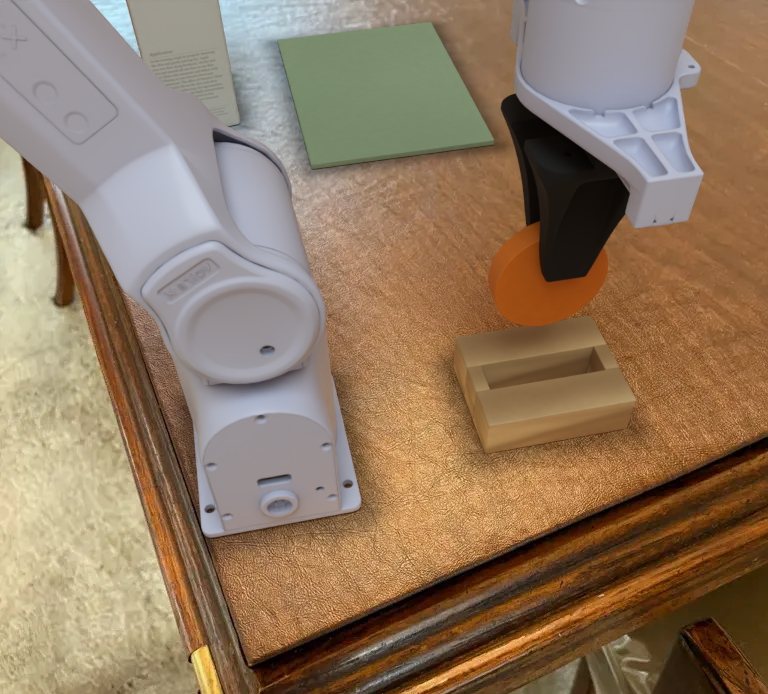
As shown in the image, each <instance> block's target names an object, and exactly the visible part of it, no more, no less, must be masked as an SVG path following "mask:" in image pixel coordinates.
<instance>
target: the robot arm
mask: <svg viewBox="0 0 768 694" xmlns="http://www.w3.org/2000/svg"><path fill="white" fill-rule="evenodd" d="M695 3H696V0H513V3H512V12H511V23H510V32H509V38H510V40H511V41H512V43H513V45H515V46H516V53H515V55H516V56H515V66H514V75H513V89H514V93H511V94H510V95H507V96H506V97H505V98H503V100H502V101H501V102H500V103H501V104H500V111H501V114H502V116H503V119H504V121H505V124H506V126H507V129H508V131H509V134H510V137H511V140H512V144H513V146H514V150H515V154H516V159H517V163H518V168H519V173H520V180H521V188H522V195H523V197H522V198H523V207H524V220H525V227H527V226H529V225H531V224H533V223H536V222H539V221H540V235H539V259H540V267H541V272H542V275H543V277H544V279H545V281H547V282H554V281H561V280H567V279H574V278H580V277H585V276H586V275H587V274H588V272H589V271H590V269H591V267H592V266H593V264H594V262H595V261H596V259H597V257H598V256H599V254H600V252H601V250H602V249H603V247H604V246H605V245H606V243H607V242H608V240H609V239H610V237H611V235H612V234H613V233H614V231H615V229H616V228H617V226H618V225H619V224H620V222H621V221H622V220H623V218H624V217H625V216H626V218H627V219H628V221H629V223H630V224H631V225H632V227H633V228H634V229H636V230H638V229H645V228H651V227H653V228H654V227H662V226H668V225H672V224H678V223H679V224H680V223H686V222H688V221H689V220H690V219H689V218H690V216H691V213H692V210H693V207H694V205H695V202H696V199H697V197H698V193H699V190H700V187H701V184H702V181H703V179H704V175H705V172H704V171H703V170H702V168H701V167H700V166H699V164H698V163H697V161H696V159H695V158H694V155H693V154H692V152H691V147H690V143H689V137H688V131H687V125H686V118H685V111H684V106H683V99H682V92H681V90H688V89H693V88H695V87H696V86H697V84H698V82H699V79H700V76H701V72H702V67H701V65H700V64H699V62H697V60H696V59H695V57H693V56H692V55H691V54H690V53H689V52H688V50H686V49H685V48H683V46H684V42H685V39H686V35H687V31H688V27H689V24H690V20H691V16H692V13H693V10H694V6H695ZM0 139H1V140H2V141H4V143H6V144H7V145H8V146H9V147H11V149H13V150H14V151H15V152H16V153H18V155H20V156H21V157H22V158H23V159H25V161H26V162H28V163H29V164H30V165H32V167H34V168H35V169H36V170H37V171H38V172H40V173H41V174H42V175H43V176H44V177H45V178H46V179H48V180H49V181H50V182H51V183H52V184H53V185H54V186H56V187H57V188H58V189H59V190H60V191H61V192H63V193H64V194H65V195H66V196H67V197H69V199H71V200H72V201H73V202H74V203H76V205H78V207H79V208H80V210H81V212H82V214H83V215H84V217H85V219H86V222H87V223H88V225H89V227H90V229H91V231H92V233H93V235H94V237H95V239H96V241H97V243H98V245H99V247H100V249H101V251H102V253H103V255H104V257H105V259H106V261H107V262H108V265H109V267H110V269H111V271H112V273H113V275H114V277H115V279H116V281H117V283H118V284H119V286H120V287H121V289H122V291H123V292H124V293H125V295H127V296H128V297H129V298H130V299H131V300H133V301H134V302H135V303H137V304H138V305H139V306H140V307H141V308H142V309H143V310H144V311H145V312H147V313H148V314H149V316H150V317H151V318H152V320H154V322H155V323H156V325H157V327H158V329H159V333H160V335H161V339H162V342H163V344H164V346H165V348H166V350H167V351H168V353H169V354H170V356H171V359H172V362H173V365H174V369H175V371H176V374H177V378H178V380H179V383H180V387H181V389H182V392H183V395H184V399H185V402H186V405H187V408H188V411H189V414H190V417H191V421H192V428H193V440H194V441H193V442H194V452H195V453H194V454H195V465H196V479H197V490H198V502H199V515H200V527H201V531H202V533H203V535H204V536H205V537H207V538H209V539H210V538H218V537H223V536H229V535H234V534H235V535H236V534H241V533H247V532H252V531H256V530H262V529H266V528H272V527H279V526H282V525H289V524H294V523H299V522H305V521H310V520H316V519H320V518H326V517H332V516H338V515H342V514H348V513H354V512H356V511H358V510H359V509H360V508H361V507H362V496H361V491H360V488H359V484H358V479H357V475H356V470H355V466H354V461H353V457H352V453H351V449H350V444H349V441H348V436H347V432H346V427H345V423H344V419H343V415H342V410H341V406H340V401H339V398H338V394H337V389H336V388H337V387H336V384H335V379H334V376H333V375H332V367H331V358H330V357H331V356H330V347H329V338H328V329H327V309H326V303H325V299H324V297H323V294H322V292H321V290H320V288H319V286H318V284H317V281H316V280H315V278H314V276H313V272H312V268H311V265H310V261H309V258H308V255H307V251H306V247H305V244H304V240H303V237H302V233H301V230H300V225H299V222H298V218H297V215H296V212H295V208H294V203H293V193H292V183H291V180H290V177H289V174H288V172H287V169H286V168H285V165H284V164H283V162H282V161H281V160H280V158H279V157H278V155H277V154H276V153H275V152H274V151H273V150H272V149H270V148H269V146H267V145H266V144H265V143H263V142H261V141H259V140H258V139H256V138H254V137H252V136H249V135H248V134H244V133H243V132H239V131H237V130H235V129H233V128H231V126H226V125H225V124H223V123H222V122H221V121H219V120H218V119H217V118H216V117H215V116H214V115H213V114H212V113H211V112H210V111H209V110H208V108H207V107H206V106H205V105H204V104H203V103H202V101H201V100H200V99H199V98H198V97H197V96H195V95H192V94H189V93H187V92H183V91H179V90H175V89H172V88H169V87H167V86H166V85H165V84H164V83H163V82H162V81H161V80H160V79H159V78H158V76H157V75H156V74H155V73H154V72H153V71H152V70H151V69H150V67H149V66H148V65H147V64H146V63H145V62H144V61H143V60H142V58H141V56H140V54H138V53H137V51H136V50H135V49H134V48H133V47H132V46H131V45H130V44H129V43H128V42H127V40H126V39H125V38H124V37H123V36H122V35H121V34H120V32H119V31H118V30H117V29H116V28H115V27H114V25H112V23H111V22H110V21H109V20H108V18H106V16H105V15H104V14H103V13H102V12H101V11H100V10H99V9H98V7H96V6H95V4H94V3H93V2H92V1H91V0H0ZM604 248H605V247H604ZM346 485H350V487H345V486H346ZM209 510H213V511H212V512H208V511H209Z"/></svg>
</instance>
